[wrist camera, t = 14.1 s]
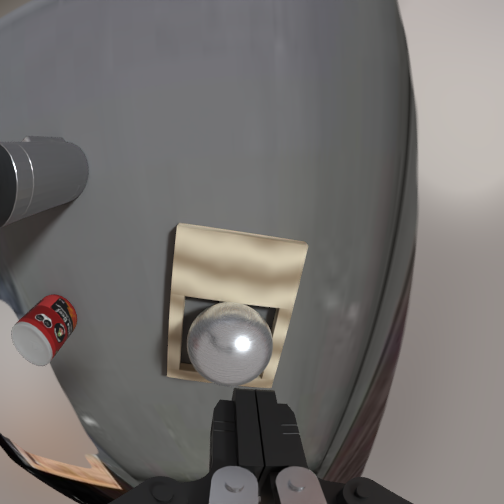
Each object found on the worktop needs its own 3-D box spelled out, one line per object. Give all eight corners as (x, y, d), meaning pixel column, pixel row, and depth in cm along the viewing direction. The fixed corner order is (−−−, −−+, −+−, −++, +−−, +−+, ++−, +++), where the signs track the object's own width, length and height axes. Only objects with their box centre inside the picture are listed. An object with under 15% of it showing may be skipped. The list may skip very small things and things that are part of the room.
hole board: (179, 222, 41) (176, 225, 40) (304, 241, 44) (308, 245, 42) (168, 369, 49) (167, 376, 47) (269, 380, 51) (271, 388, 49)
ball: (168, 303, 38) (170, 366, 43) (234, 357, 31) (225, 417, 36) (234, 277, 46) (227, 336, 51) (298, 315, 39) (280, 375, 44)
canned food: (83, 331, 46) (57, 368, 35) (50, 330, 45) (22, 364, 35) (71, 292, 43) (39, 324, 33) (37, 293, 43) (4, 322, 32)
